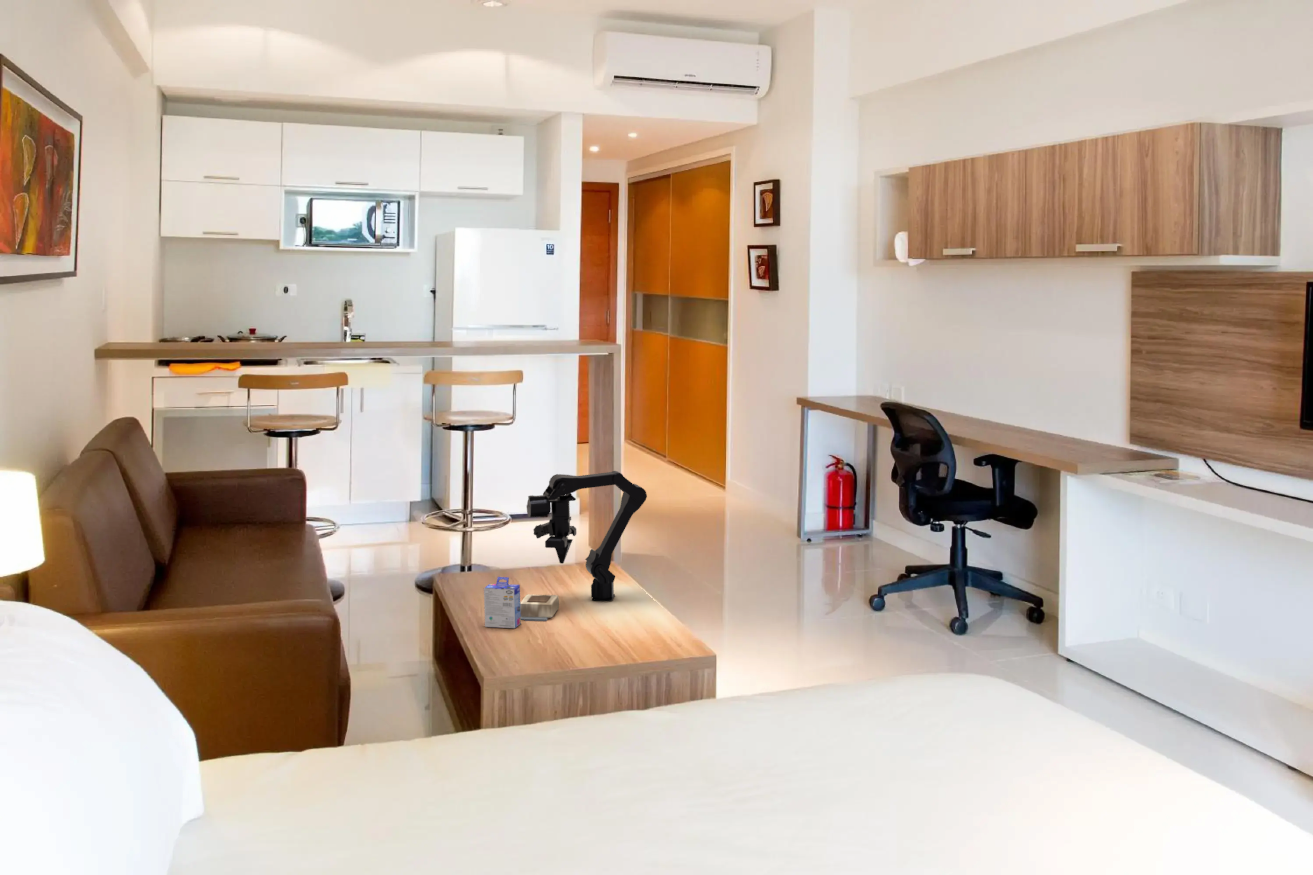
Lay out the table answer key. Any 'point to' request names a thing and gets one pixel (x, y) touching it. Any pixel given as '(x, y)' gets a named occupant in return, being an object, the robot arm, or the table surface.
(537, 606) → the wooden block
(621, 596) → the table surface
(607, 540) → the robot arm
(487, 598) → the ink cartridge box
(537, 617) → the mat
